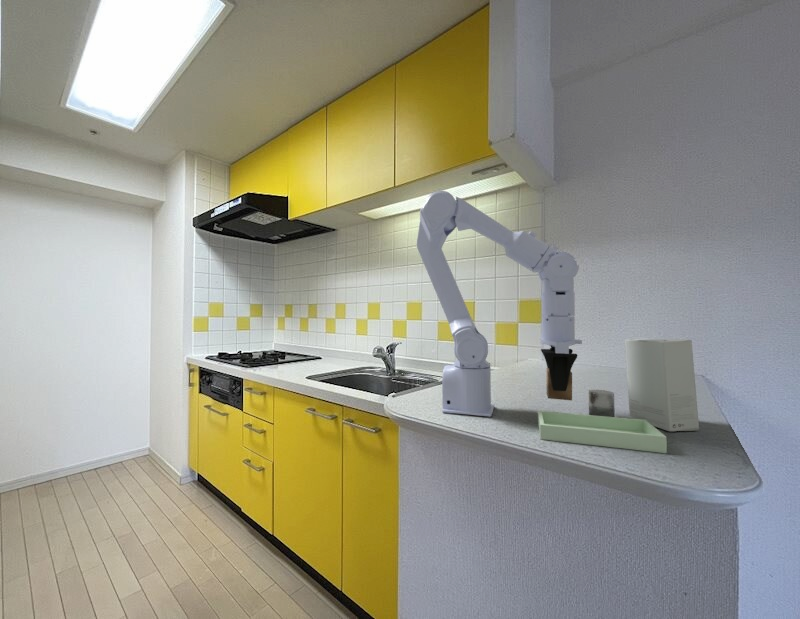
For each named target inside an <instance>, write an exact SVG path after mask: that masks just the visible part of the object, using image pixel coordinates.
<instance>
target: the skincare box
mask: <svg viewBox="0 0 800 619" xmlns="http://www.w3.org/2000/svg"><path fill="white" fill-rule="evenodd" d="M692 342H693V341H692V339H682V338H681V339H676V338H674V339H673V338H648V337H647V338H635V339H633V338H629V339H624V352H625V364H626V378H627V379H626V380H627V396H628V397H627V398H628V411H629V418H630V419H642V420H647V421H648V422H649V423H650V424H651V425H653V426H654V427H655V428H658V429H661V430H664V431H667V432H677V431H678V432H679V431H680V432H689V431H690V432H691V431H699V428H700V423H699V410H698V399H697V386H696V377H695V376H696V375H695V365H694V352H693V343H692Z"/></svg>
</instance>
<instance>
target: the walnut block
mask: <svg viewBox="0 0 800 619" xmlns="http://www.w3.org/2000/svg"><path fill="white" fill-rule="evenodd" d="M546 396H547V399H550V400H560V401H561V400H564V401H573V372H572V371H570V375H569V380H568V385H567V389H566V391H555V390H553V387H552V384H551V378H550V372H549V368H547V367H546Z"/></svg>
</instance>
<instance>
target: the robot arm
mask: <svg viewBox="0 0 800 619" xmlns="http://www.w3.org/2000/svg"><path fill="white" fill-rule="evenodd" d="M456 228H457V230H458V232H459V231H460V232H461V231H467V230H472V231H474V232H476V233H478V234H480V235H482V236H484V237H485V238H487V239H489V240H491V241H492V242H494V243H496V244H498V245H500V246H502V247H503V248H504V250H505V251H504V252H505V255H506V257H507V258H509V259H511V260H513V261H514V262H516V263H517V264H519V265H520V266H522V267H524V268H526V269H527V270H529V271H531V272H532V273H538V276H539V279H540V280H541V281H542V283H541V284H542V286H541V287H542V292H541V296H540V297H541V299H540V300H541V304H540V305H541V306H540V307H541V308H540V309H541V312H540V313H541V317H540V319H541V329H540V330H541V338H540V339H539V340H540V342H539V343H540V344H542V345H547V346H549V348H541V349H540V351H541V353H542V355H543V357H544V360H545V363H546V369H547V368H549V372H550V378H551V384H552V387H553V390H555V391H566V389H567V385H568V380H569V375H570V371H571V370H572V368H573V365H574V363H575V362H576V360H577V358H578V354H577V353H573V349H572V348H570V346H575V345H582V344H583V339H575V336H576V335H575V334H576V333H575V332H576V331H575V322H576V321H575V320H576V319H575V318H576V317H575V316H576V315H575V314H576V312H575V311H576V310H575V307H576V306H575V302H576V301H575V300H576V299H575V297H576V296H575V289H574V288H575V287H574V286H575V280H574V278H575V277H576V275H578V272H579V270H580V269H579V267H580V266H579V265H578V263H577V260H576V259H575V257H574V256H573V255H571V254H570V253H569V252H567V251H558V249H559V247H558V246H557V245H555V244H554V245H549V244H548V243H546V242H544V241H542V240H541V239H539V238H537V237H536V236H537V233H535V232H534V231H532V230H530V231H529V232H526V231H525V230H520V231H512V230H510V229H509V228H508V227H506V226H504V225H503V224H501V223H500V222H498V221H496V220H495V219H493V218H492V217H491V216H489V215H487V214H486V213H484V212H483V211H481V210H479V209H478V208H476V206H474V205H472V204H471V203H469V202H467V201H466V200H464V199H463V198H462V197H458V196H455V197H454V195H452V194H451V192H448V191H446V190H437V191H434V192H432V193H431V194H429V195H428V196H427V197H426V199H425V201H424V203H423V204H422V206H421V208H420V210H419V225H418V231H417V238H416V248H417V250H418V252H419V253H418V254H419V255H420V258H421V260H422V262H423V265H424V267H425V270H426V271H427V272H426V273H427V275H428V277H429V279H430V281H431V284H432V287H433V289H434V291H435V293H436V295H437V298H438V301H439V303H440V305H441V308H442V309H443V313H444V315H445V317H446V319H447V320H446V321H447V322H448V324H449V329H450V333H451V336H452V338H453V341H454V348H453V350H454V351H453V352H454V353H453V354H454V356H455V358H456V360H455V361H454V362H453V364H452V365H451V364H449V365H448V364H447V365H445V366H444V367H443V370H442V379H441V381H442V382H441V383H442V387H441V390H442V393H441V394H442V399H441V400H442V401H441V402H442V404H441V405H442V409H441V412H442V413H448V414H449V413H450V414H458V415H469V416H479V417H492V416H493V412H494V409H495V404H494V403H492V397H491V396H492V394H491V393H492V392H491V391H492V390H491V388H492V387H491V386H492V385H491V383H492V382H491V380H492V378H491V377H492V376H491V371H492V370H491V363H490V362H488V361H487V360H486V359H487V358H488V355H489V343H488V340H487V339H486V337H485V336H484V335H483V334H482V333H481V332H480V331H479V330H478V329H477V326H476V324H475V322H474V321H473V319H472V316H471V314H470V312H469V309H468V307H467V305H466V302H465V299H464V297H463V295H462V292H461V291H460V288H459V286H458V283H457V282H456V279H455V277H454V274H453V272H452V269H451V268H450V265H449V263H448V261H447V259H446V256H445V254H444V251H443V246H444V244H445V242H446V240H447V238H448V236H449V235H451V234H452V232H454V231H455V230H456ZM571 372H572V371H571Z"/></svg>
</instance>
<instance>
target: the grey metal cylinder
mask: <svg viewBox="0 0 800 619" xmlns="http://www.w3.org/2000/svg"><path fill="white" fill-rule="evenodd" d="M615 412H616V411H615V392H613V391H610V390H605V389H589V390H588V415H595V416H607V417H616V416H615V415H616V414H615Z"/></svg>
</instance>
